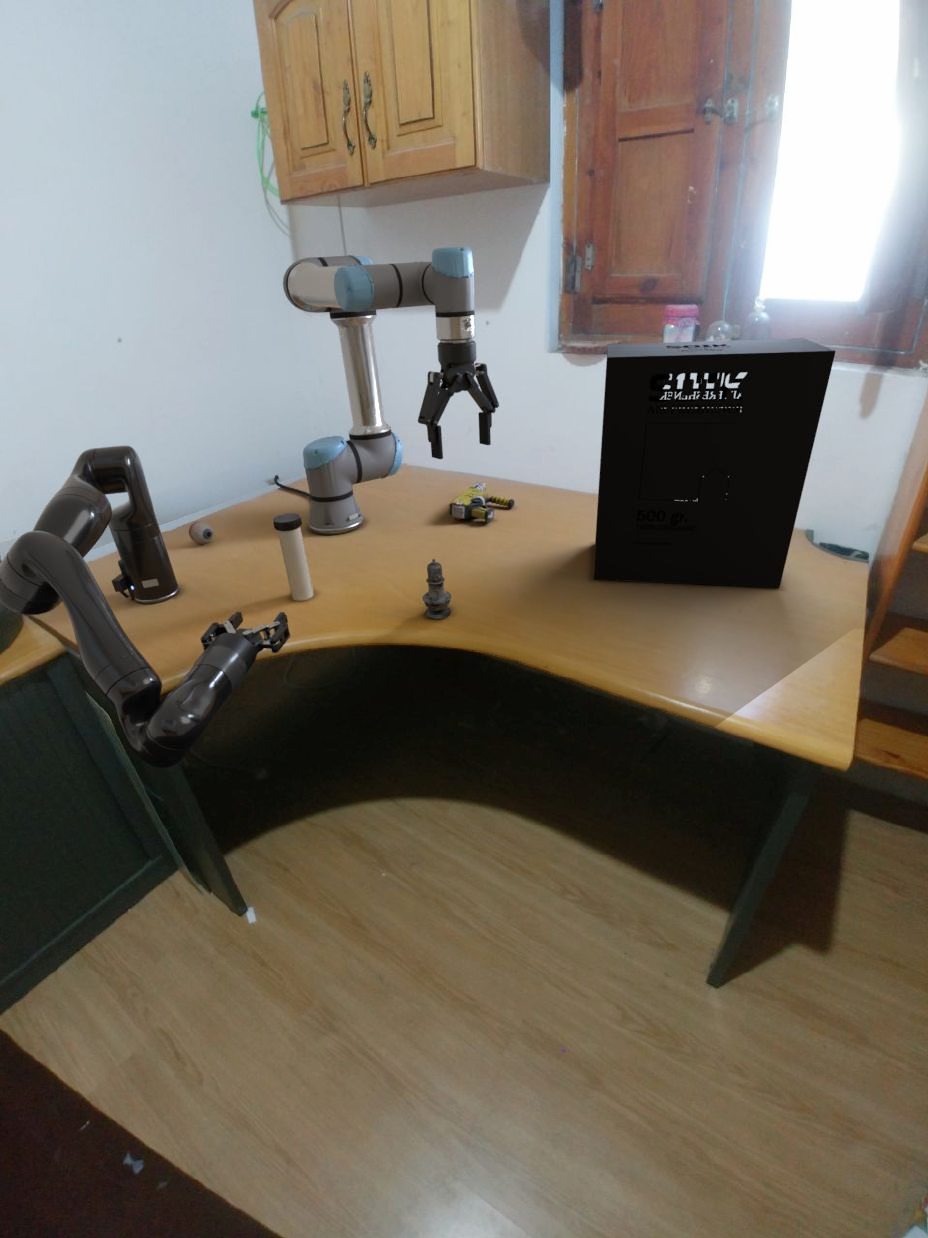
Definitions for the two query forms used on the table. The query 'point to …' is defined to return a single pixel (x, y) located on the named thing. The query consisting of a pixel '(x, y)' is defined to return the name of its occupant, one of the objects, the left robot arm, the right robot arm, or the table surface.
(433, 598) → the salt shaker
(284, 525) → the lid
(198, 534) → the eyeball
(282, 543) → the jar
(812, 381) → the cardboard box
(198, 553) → the table surface
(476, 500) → the toy gun
